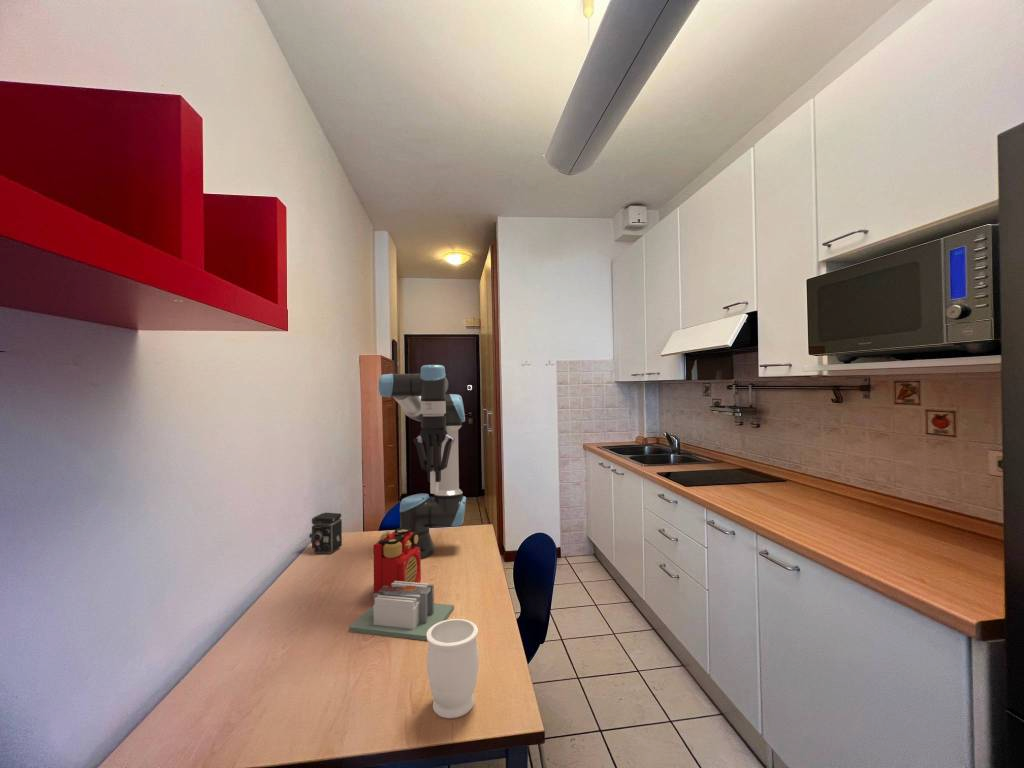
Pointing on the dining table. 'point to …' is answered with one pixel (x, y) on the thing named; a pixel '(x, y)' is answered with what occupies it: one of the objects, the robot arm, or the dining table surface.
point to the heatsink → (402, 614)
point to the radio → (396, 558)
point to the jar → (452, 666)
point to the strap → (404, 590)
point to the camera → (326, 532)
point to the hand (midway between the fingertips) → (434, 492)
